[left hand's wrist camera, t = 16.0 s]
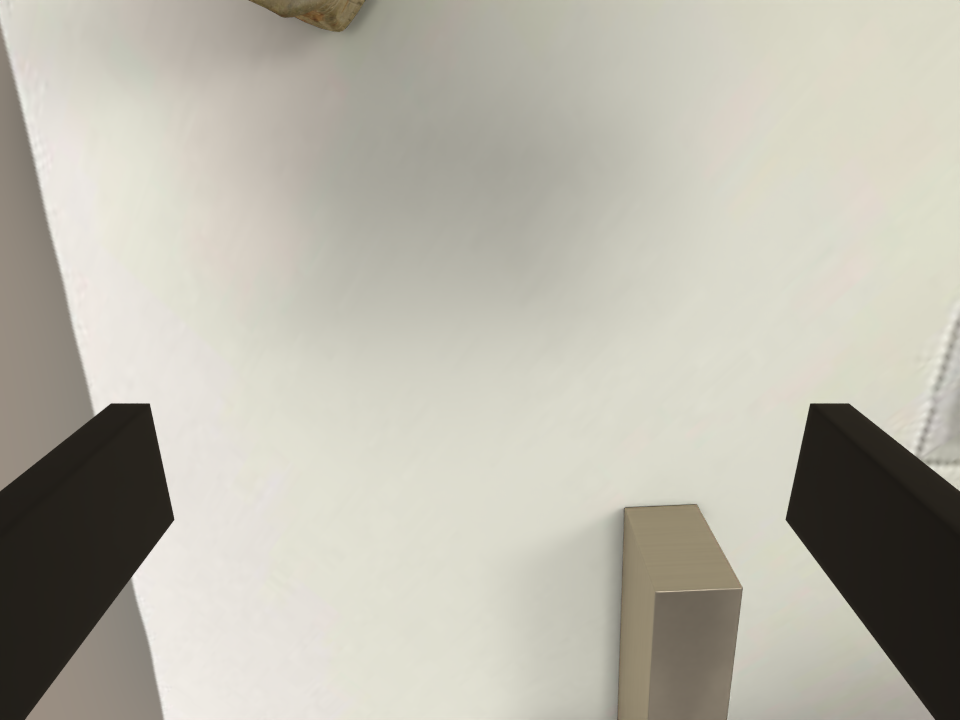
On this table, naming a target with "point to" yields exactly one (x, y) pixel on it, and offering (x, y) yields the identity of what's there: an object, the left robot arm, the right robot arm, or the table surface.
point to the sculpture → (316, 11)
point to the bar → (675, 617)
